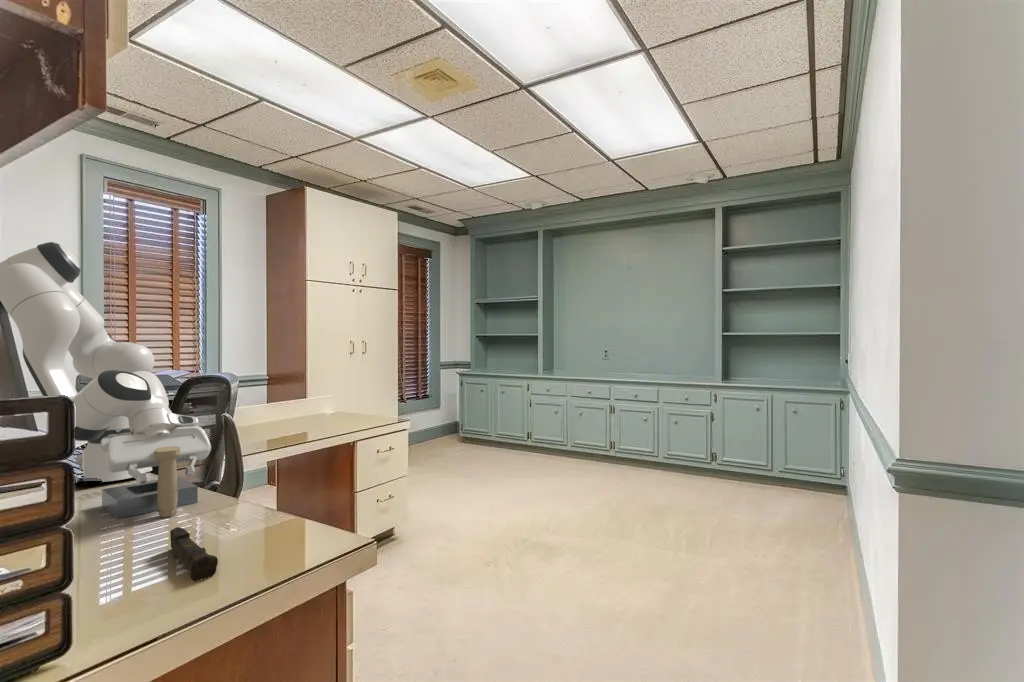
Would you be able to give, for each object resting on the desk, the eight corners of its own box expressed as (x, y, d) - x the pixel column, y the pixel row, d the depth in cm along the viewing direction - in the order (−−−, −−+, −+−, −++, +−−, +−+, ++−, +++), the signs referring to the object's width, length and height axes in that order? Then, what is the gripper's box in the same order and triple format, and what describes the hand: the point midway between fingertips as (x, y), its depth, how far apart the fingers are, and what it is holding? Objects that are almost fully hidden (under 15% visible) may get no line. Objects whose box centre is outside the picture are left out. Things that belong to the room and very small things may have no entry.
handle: (154, 521, 115) (154, 452, 115) (155, 513, 120) (155, 447, 121) (180, 517, 118) (180, 450, 118) (180, 510, 123) (180, 445, 123)
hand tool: (218, 577, 88) (218, 549, 88) (190, 584, 86) (191, 556, 86) (190, 546, 102) (190, 521, 102) (166, 551, 99) (166, 526, 99)
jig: (102, 506, 126) (102, 489, 126) (178, 491, 138) (178, 476, 138) (117, 519, 117) (117, 500, 117) (197, 502, 129) (197, 485, 129)
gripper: (101, 426, 116) (112, 479, 109) (204, 416, 131) (219, 462, 125) (96, 444, 119) (107, 496, 112) (197, 432, 134) (212, 478, 128)
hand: (167, 478), depth 119 cm, fingers open, 8 cm apart
